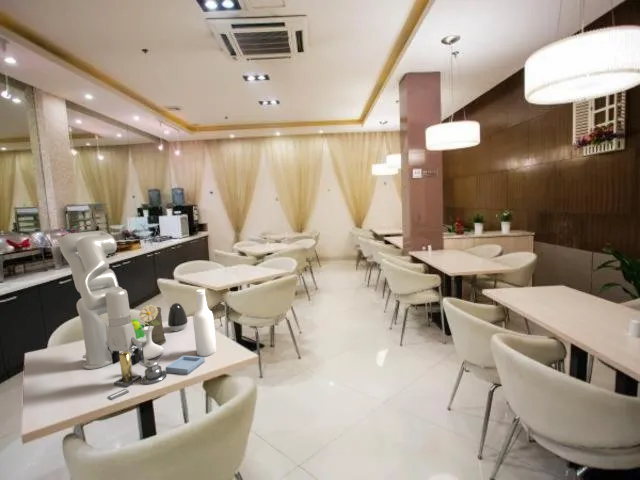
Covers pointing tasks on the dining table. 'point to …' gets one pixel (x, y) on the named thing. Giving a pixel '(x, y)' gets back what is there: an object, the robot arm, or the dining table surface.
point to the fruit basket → (138, 328)
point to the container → (157, 329)
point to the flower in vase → (150, 348)
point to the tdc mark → (118, 394)
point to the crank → (147, 361)
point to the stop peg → (126, 366)
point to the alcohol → (204, 326)
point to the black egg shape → (177, 317)
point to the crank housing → (144, 378)
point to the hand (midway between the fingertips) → (126, 363)
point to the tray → (185, 364)
